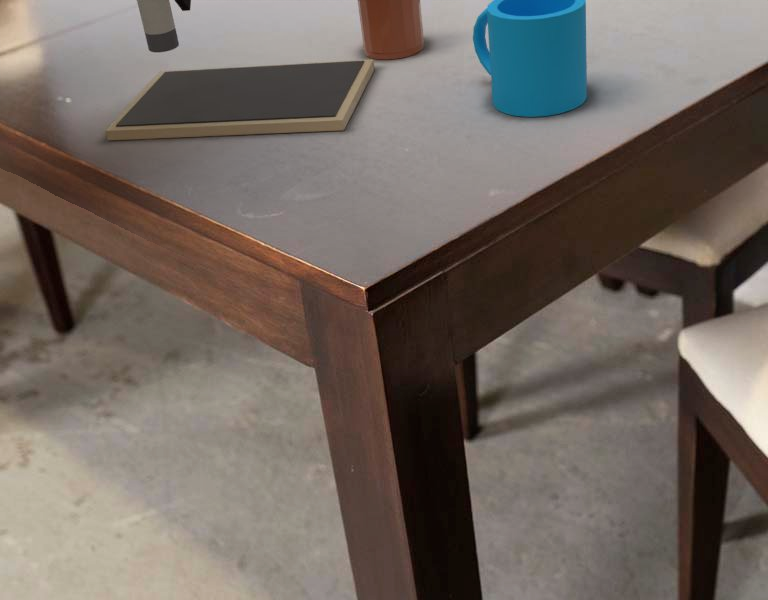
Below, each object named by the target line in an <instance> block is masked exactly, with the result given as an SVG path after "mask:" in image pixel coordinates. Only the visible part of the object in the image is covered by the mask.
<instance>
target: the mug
mask: <svg viewBox="0 0 768 600" xmlns="http://www.w3.org/2000/svg"><path fill="white" fill-rule="evenodd" d="M472 30H473V31H472V42H473V46H474V51H475V54H476V56H477V58H478V60H479V63H480V64H481V66H482V67H483V68H484V70H485V71H486V72H487V74H488V75H489V76H490V81H491V96H492V97H491V98H492V99H491V100H492V105H493V107H494V109H496V110H497V111H499V112H501V113H502V114H505V115H510V116H513V117H514V116H515V117H524V118H538V117H549V116H554V115H560V114H564V113H567V112H569V111H572V110H574V109H576V108H579V107H580V106H582V105H583V104H584V103H585V102H586V100H587V99H588V88H587V87H588V79H587V78H588V75H587V73H588V72H587V71H588V69H587V67H588V66H587V65H588V64H587V1H586V0H492V1H491V2H489V3H488V4H487V6H486V8H485V9H483V11H482V12H481V13H480V14H479V15H478V16H477V18H476V21H475V23H474V25H473V29H472ZM486 32H487V35H488V44H487V39H486Z"/></svg>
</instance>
